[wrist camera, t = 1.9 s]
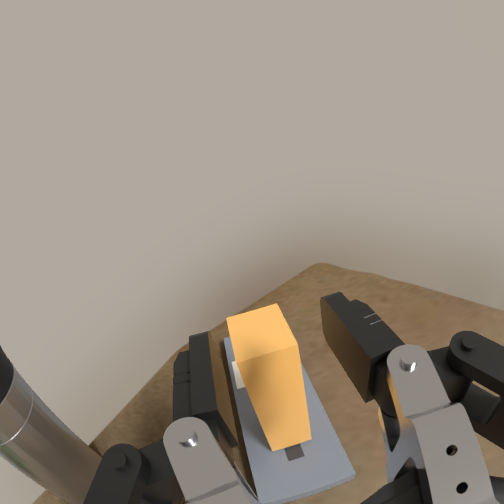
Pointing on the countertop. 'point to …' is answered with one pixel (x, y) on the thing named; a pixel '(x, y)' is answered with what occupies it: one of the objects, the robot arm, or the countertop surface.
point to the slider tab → (271, 374)
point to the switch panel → (290, 449)
